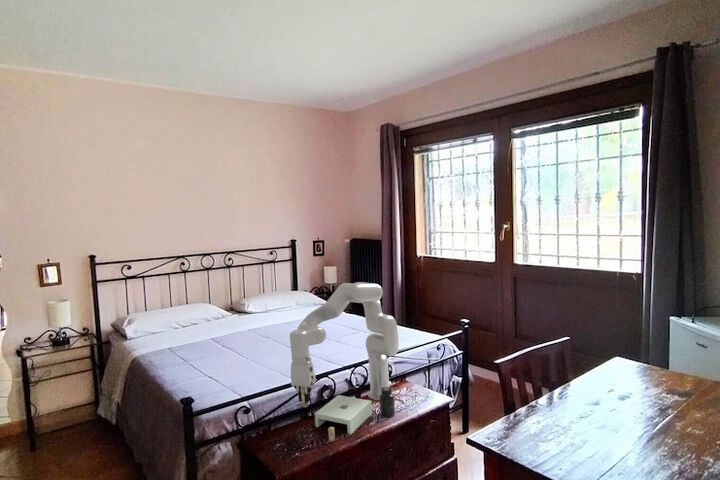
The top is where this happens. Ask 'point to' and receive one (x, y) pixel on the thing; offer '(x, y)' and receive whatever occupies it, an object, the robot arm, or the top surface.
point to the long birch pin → (303, 397)
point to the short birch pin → (331, 434)
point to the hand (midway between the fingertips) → (304, 400)
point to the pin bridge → (345, 412)
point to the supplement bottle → (387, 402)
